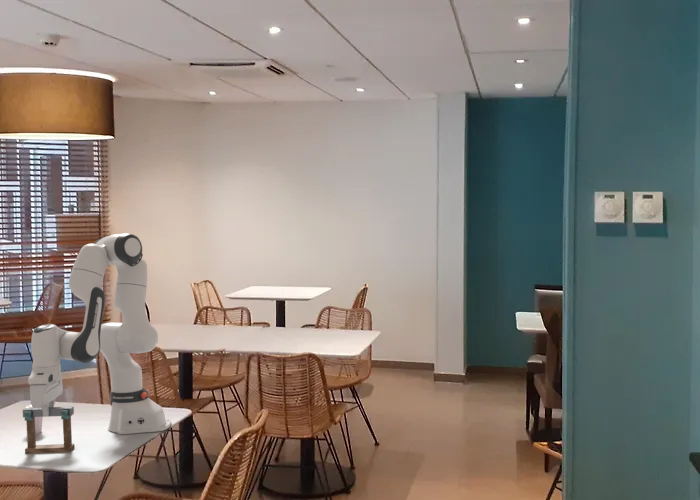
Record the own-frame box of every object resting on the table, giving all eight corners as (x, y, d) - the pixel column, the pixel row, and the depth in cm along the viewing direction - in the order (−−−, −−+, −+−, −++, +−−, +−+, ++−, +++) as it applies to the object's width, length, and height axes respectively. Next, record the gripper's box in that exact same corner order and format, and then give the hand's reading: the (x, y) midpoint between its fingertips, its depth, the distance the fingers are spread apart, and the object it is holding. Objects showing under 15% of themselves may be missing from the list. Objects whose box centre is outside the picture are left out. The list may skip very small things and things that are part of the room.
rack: (75, 447, 257) (73, 407, 257) (70, 452, 253) (68, 410, 252) (30, 449, 257) (28, 408, 256) (24, 453, 252) (22, 412, 251)
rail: (73, 413, 256) (73, 406, 256) (71, 415, 253) (71, 408, 253) (25, 415, 255) (25, 408, 255) (22, 417, 252) (22, 409, 252)
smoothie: (29, 430, 280) (28, 392, 279) (47, 429, 280) (46, 391, 280) (24, 435, 274) (22, 396, 273) (42, 434, 274) (40, 396, 273)
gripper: (48, 367, 264) (49, 406, 264) (25, 380, 243) (27, 423, 244) (66, 366, 264) (68, 406, 265) (45, 379, 243) (47, 422, 244)
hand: (48, 414), depth 254 cm, fingers closed on rail, 2 cm apart
